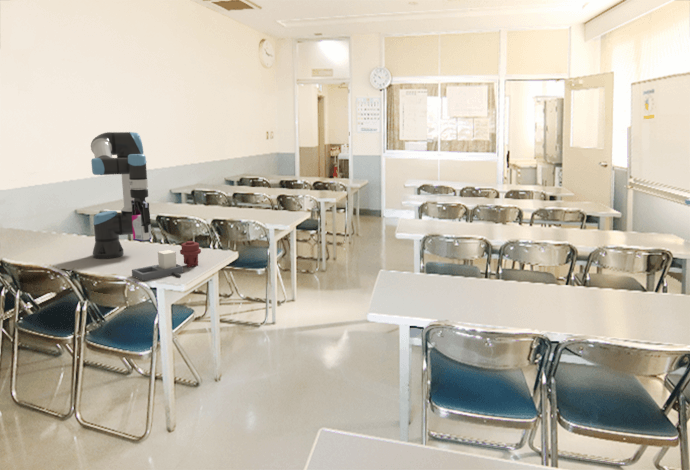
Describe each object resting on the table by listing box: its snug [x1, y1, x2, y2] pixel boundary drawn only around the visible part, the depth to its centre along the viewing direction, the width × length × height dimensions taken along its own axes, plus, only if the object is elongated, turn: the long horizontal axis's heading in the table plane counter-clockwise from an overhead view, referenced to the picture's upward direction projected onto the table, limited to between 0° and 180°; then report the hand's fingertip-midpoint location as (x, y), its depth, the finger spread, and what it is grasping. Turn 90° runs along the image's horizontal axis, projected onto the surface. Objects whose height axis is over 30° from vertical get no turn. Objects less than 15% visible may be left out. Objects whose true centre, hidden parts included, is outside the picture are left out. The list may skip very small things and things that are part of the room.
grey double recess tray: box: [131, 249, 184, 282], centre depth 247 cm, size 18×20×10 cm
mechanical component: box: [179, 240, 202, 268], centre depth 264 cm, size 12×10×10 cm
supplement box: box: [132, 214, 152, 242], centre depth 243 cm, size 6×6×12 cm
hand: (142, 238), depth 244 cm, fingers closed on supplement box, 7 cm apart
